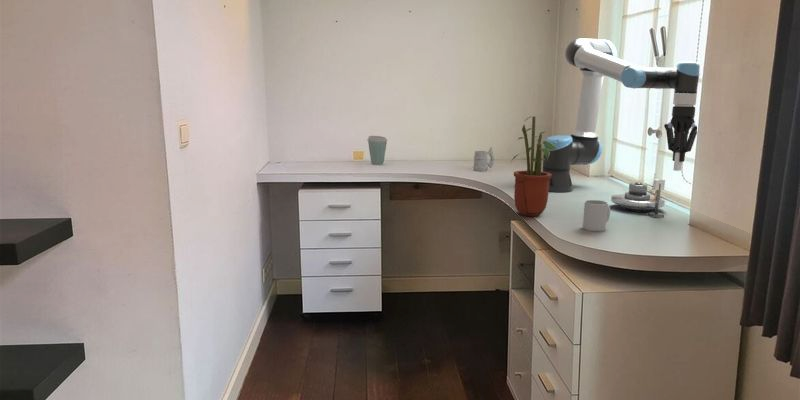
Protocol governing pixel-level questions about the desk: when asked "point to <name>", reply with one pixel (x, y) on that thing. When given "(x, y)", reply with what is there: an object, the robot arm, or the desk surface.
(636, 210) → the turntable base
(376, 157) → the disposable coffee cup
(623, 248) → the desk surface
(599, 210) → the cup
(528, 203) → the potted plant
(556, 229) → the desk surface
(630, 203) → the turntable
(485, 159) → the mug
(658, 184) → the dial gauge
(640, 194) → the cover
